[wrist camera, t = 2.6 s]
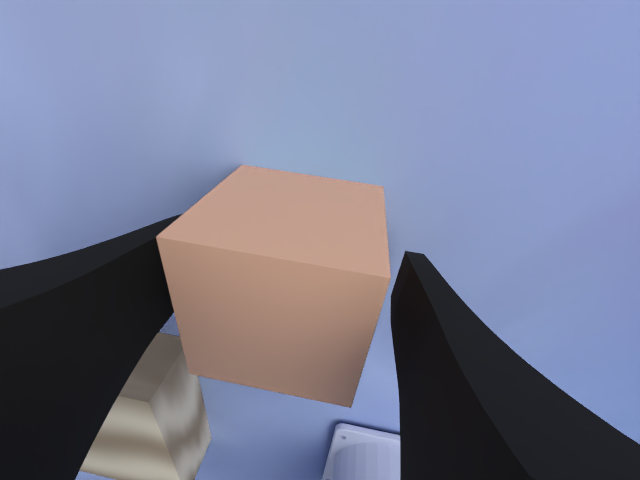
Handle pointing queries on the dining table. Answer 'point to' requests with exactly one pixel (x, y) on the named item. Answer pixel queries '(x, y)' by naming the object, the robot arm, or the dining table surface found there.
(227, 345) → the terracotta cube
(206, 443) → the birch base block
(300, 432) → the dining table surface
